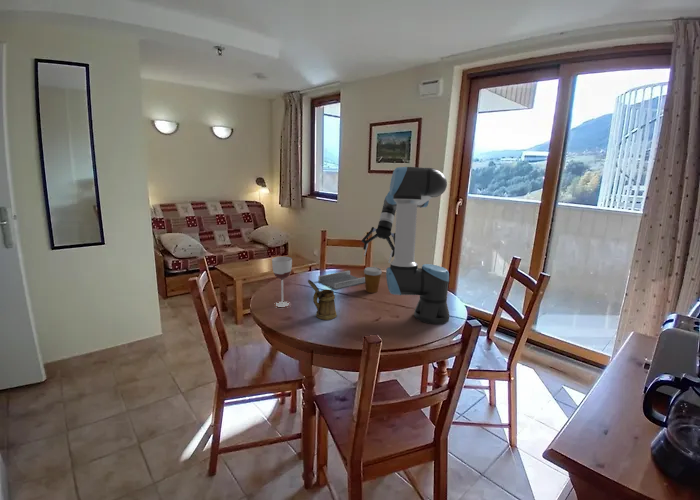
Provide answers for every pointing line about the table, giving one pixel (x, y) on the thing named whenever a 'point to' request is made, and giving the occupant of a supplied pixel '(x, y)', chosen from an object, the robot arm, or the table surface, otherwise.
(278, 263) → the wineglass
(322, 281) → the tray
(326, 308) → the wooden mug
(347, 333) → the table surface
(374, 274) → the disposable coffee cup
